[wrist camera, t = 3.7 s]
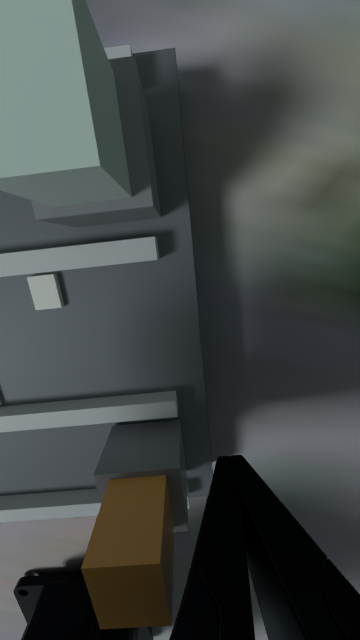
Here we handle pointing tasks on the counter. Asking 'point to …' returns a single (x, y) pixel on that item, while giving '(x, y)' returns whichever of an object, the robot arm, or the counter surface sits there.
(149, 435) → the fader
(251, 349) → the counter surface
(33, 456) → the console
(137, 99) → the fader
